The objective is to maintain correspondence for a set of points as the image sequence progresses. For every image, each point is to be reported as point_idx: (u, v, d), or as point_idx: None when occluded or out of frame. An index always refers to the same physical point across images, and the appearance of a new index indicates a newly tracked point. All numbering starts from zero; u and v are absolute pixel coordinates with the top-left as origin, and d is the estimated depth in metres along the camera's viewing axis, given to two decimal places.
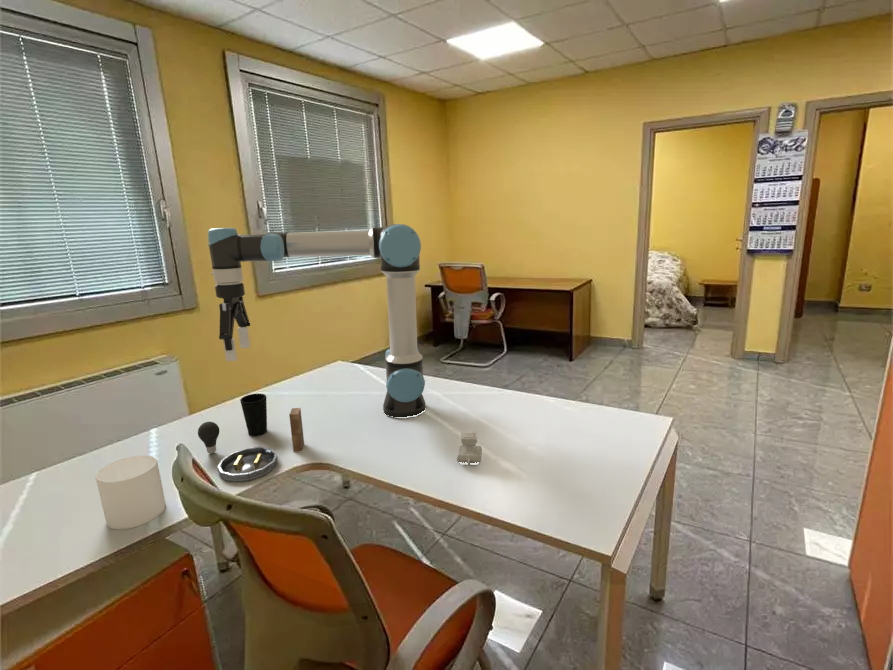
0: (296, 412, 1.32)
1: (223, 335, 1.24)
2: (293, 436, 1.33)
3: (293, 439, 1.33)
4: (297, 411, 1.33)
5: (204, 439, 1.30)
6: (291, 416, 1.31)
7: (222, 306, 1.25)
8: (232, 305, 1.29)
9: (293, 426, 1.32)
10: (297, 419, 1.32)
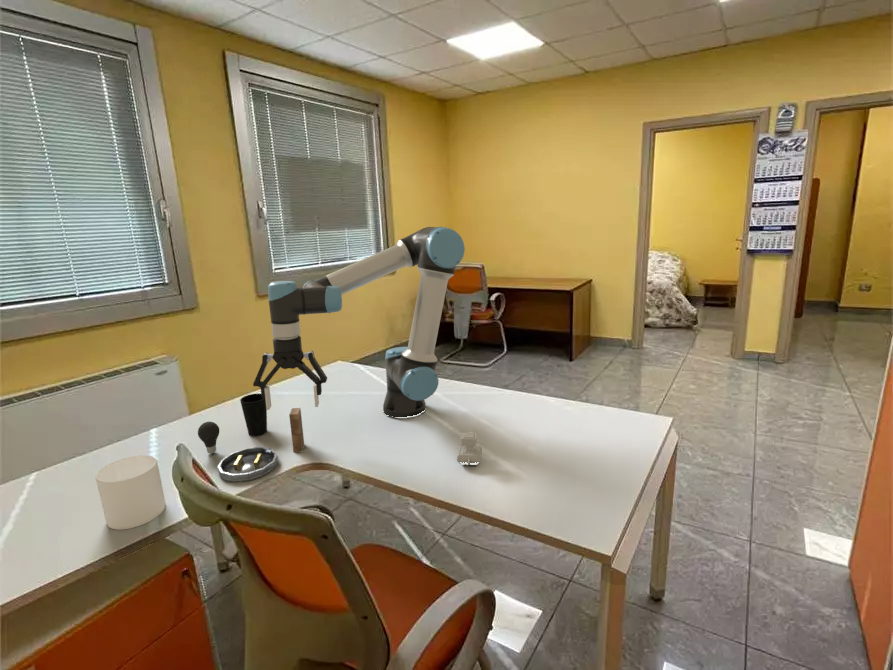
0: (296, 412, 1.32)
1: None
2: (293, 436, 1.33)
3: (293, 439, 1.33)
4: (297, 411, 1.33)
5: (204, 439, 1.30)
6: (291, 416, 1.31)
7: None
8: (276, 358, 1.28)
9: (293, 426, 1.32)
10: (297, 419, 1.32)
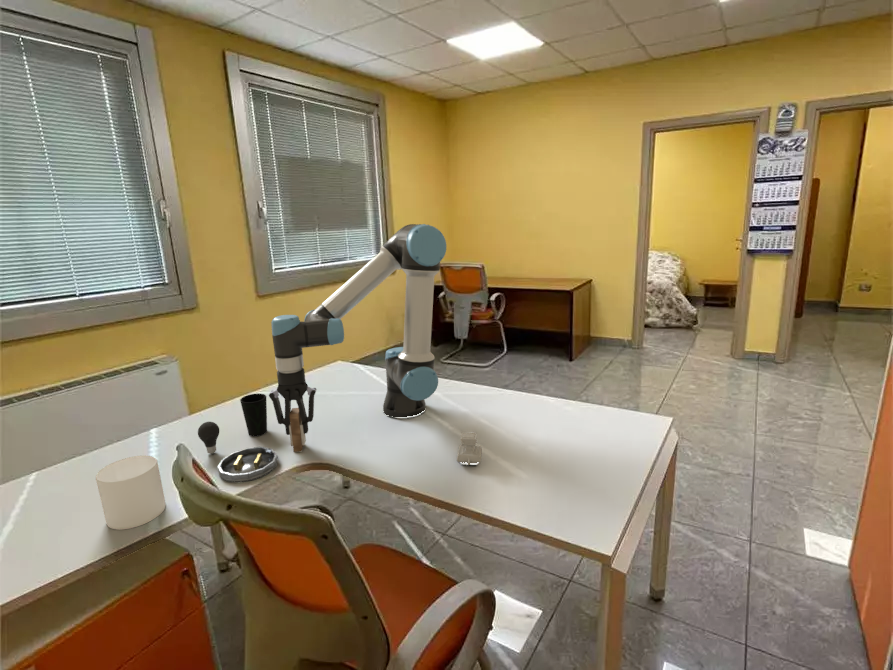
0: (296, 412, 1.33)
1: None
2: (293, 436, 1.33)
3: (293, 439, 1.33)
4: (297, 411, 1.33)
5: (204, 439, 1.30)
6: (291, 416, 1.31)
7: None
8: (280, 390, 1.30)
9: (293, 426, 1.32)
10: (297, 419, 1.32)
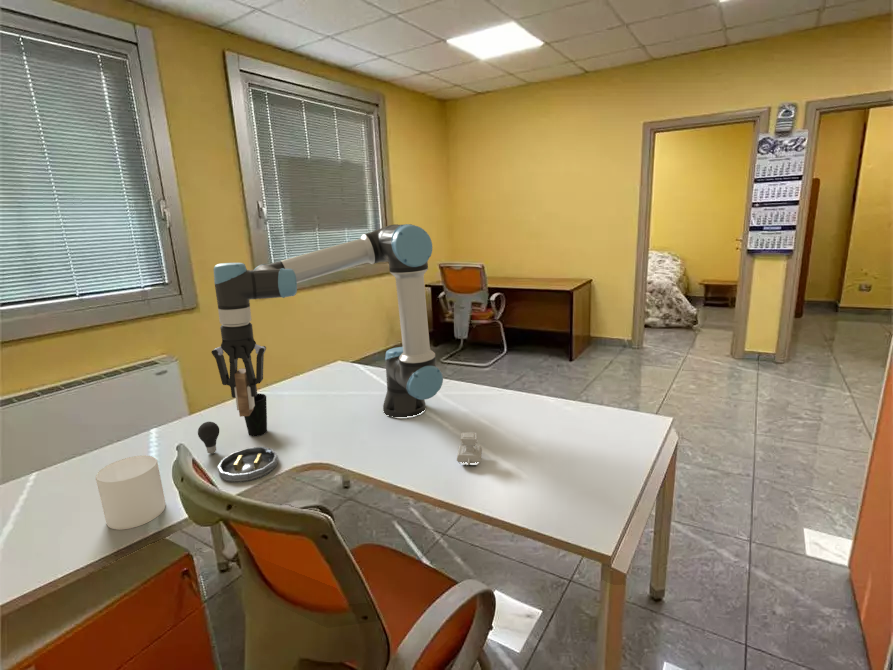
0: (243, 372, 1.20)
1: None
2: (239, 398, 1.20)
3: (239, 402, 1.20)
4: (244, 371, 1.20)
5: (204, 439, 1.30)
6: (237, 376, 1.18)
7: None
8: (224, 347, 1.17)
9: (238, 387, 1.19)
10: (243, 379, 1.19)
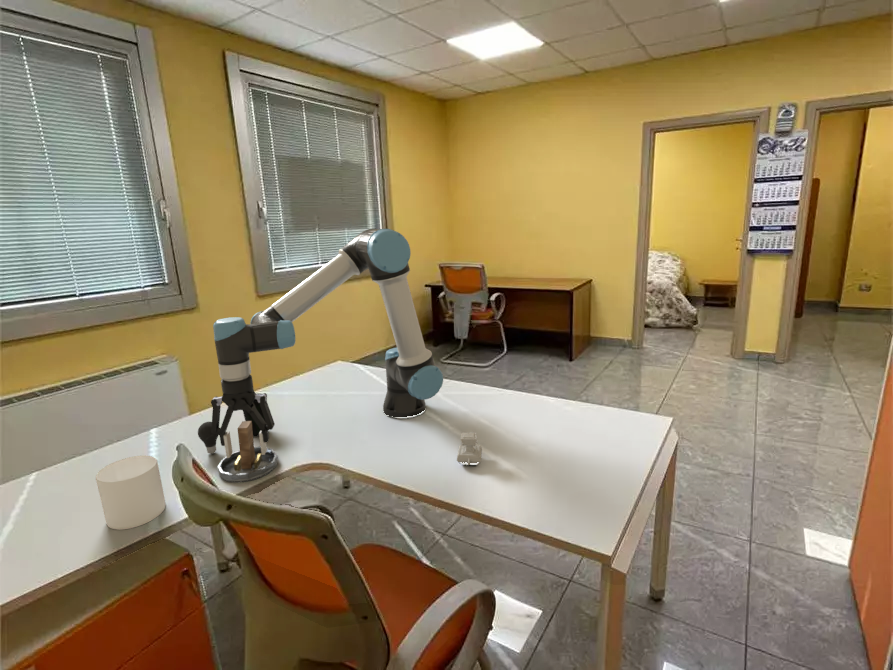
0: (245, 426, 1.22)
1: None
2: (241, 452, 1.23)
3: (241, 455, 1.23)
4: (247, 425, 1.23)
5: (204, 439, 1.30)
6: (239, 430, 1.21)
7: None
8: (225, 400, 1.20)
9: (241, 441, 1.22)
10: (246, 433, 1.22)
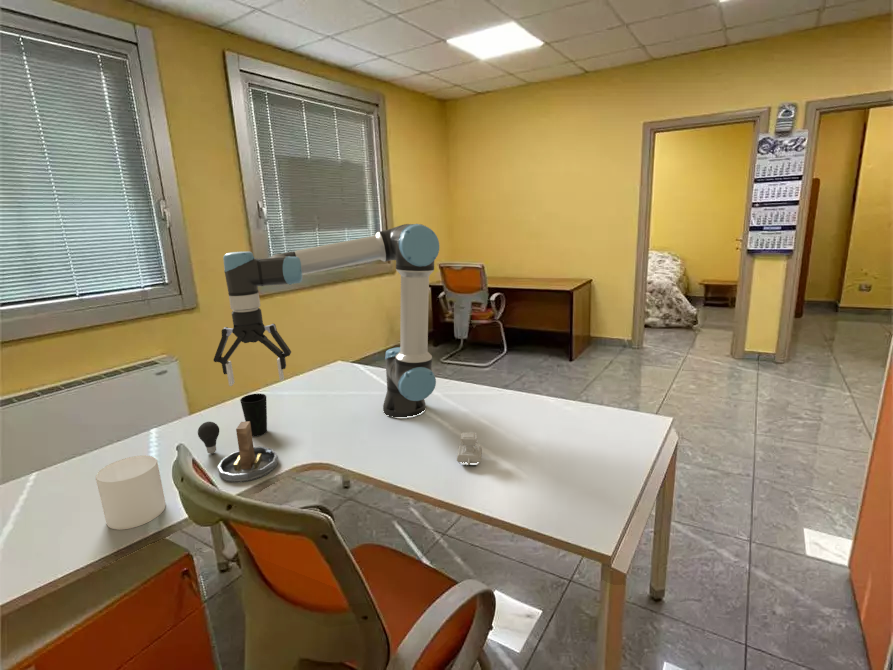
0: (244, 426, 1.22)
1: None
2: (241, 452, 1.23)
3: (241, 455, 1.23)
4: (245, 425, 1.23)
5: (204, 439, 1.30)
6: (238, 431, 1.21)
7: None
8: (236, 332, 1.24)
9: (240, 442, 1.22)
10: (245, 434, 1.21)
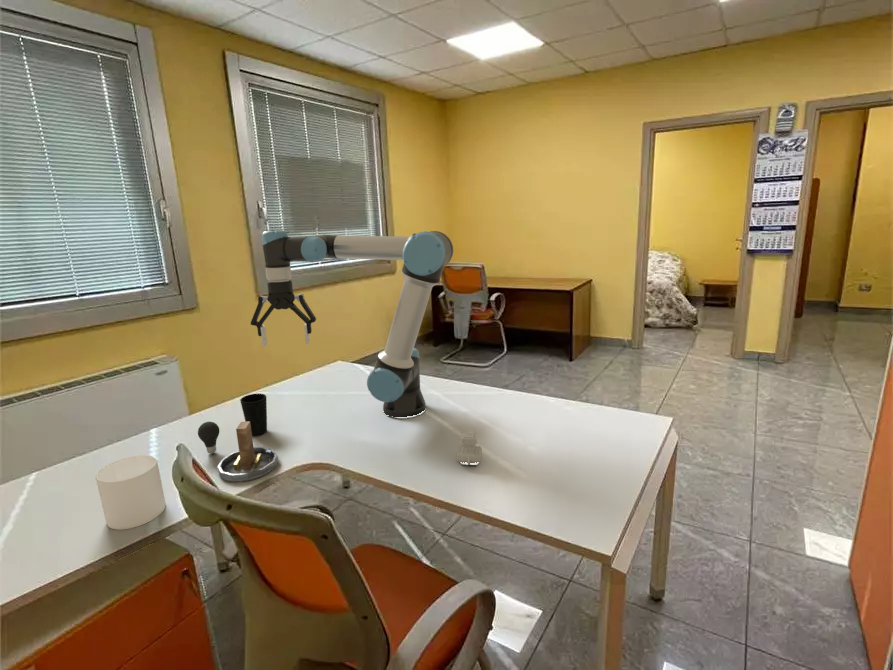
0: (244, 426, 1.22)
1: None
2: (241, 452, 1.23)
3: (241, 455, 1.23)
4: (245, 425, 1.23)
5: (204, 439, 1.30)
6: (238, 431, 1.21)
7: None
8: (270, 299, 1.45)
9: (240, 442, 1.22)
10: (245, 434, 1.21)
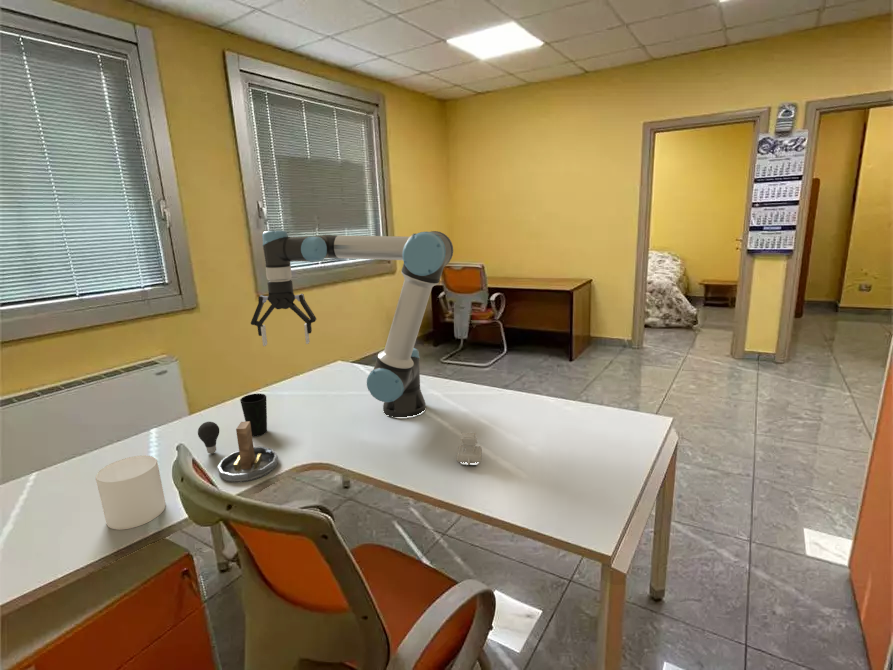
0: (244, 426, 1.22)
1: None
2: (241, 452, 1.23)
3: (241, 455, 1.23)
4: (245, 425, 1.23)
5: (204, 439, 1.30)
6: (238, 431, 1.21)
7: None
8: (270, 299, 1.45)
9: (240, 442, 1.22)
10: (245, 434, 1.21)
